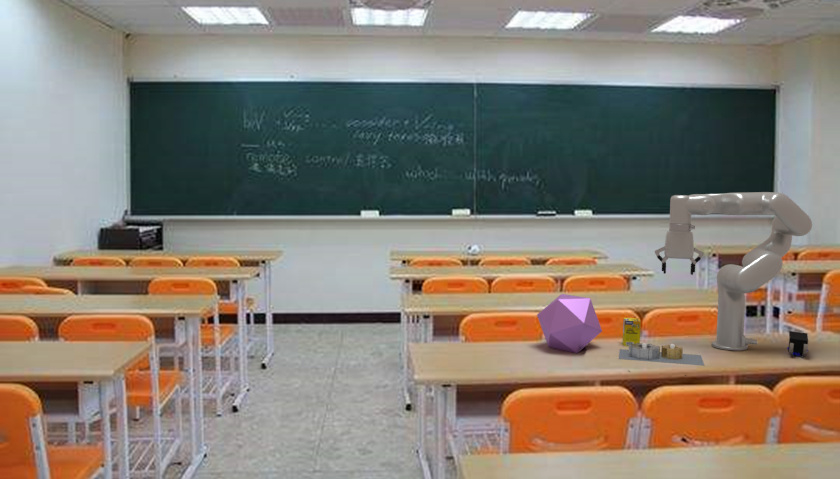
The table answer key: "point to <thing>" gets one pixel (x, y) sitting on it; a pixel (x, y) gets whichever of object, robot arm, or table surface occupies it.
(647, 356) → the steel gear
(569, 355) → the table surface
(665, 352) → the bronze gear
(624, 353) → the gear board
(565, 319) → the icosahedron
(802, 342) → the figurine character
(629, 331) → the supplement box
